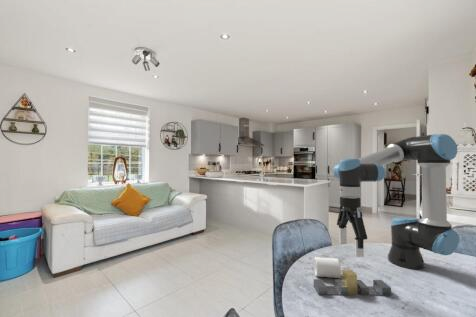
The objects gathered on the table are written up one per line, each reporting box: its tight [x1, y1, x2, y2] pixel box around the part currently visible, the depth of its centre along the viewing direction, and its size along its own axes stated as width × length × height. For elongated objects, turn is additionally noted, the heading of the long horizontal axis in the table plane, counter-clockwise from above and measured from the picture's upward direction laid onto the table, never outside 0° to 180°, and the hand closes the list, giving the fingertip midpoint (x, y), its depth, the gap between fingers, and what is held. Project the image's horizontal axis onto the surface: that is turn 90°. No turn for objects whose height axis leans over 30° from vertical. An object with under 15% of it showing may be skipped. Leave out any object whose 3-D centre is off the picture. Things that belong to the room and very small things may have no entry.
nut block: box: [341, 269, 358, 293], centre depth 91 cm, size 4×4×7 cm
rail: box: [313, 278, 392, 297], centre depth 91 cm, size 28×6×3 cm, turn 89°
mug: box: [313, 256, 342, 279], centre depth 105 cm, size 12×10×8 cm
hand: (350, 249), depth 91 cm, fingers open, 13 cm apart
